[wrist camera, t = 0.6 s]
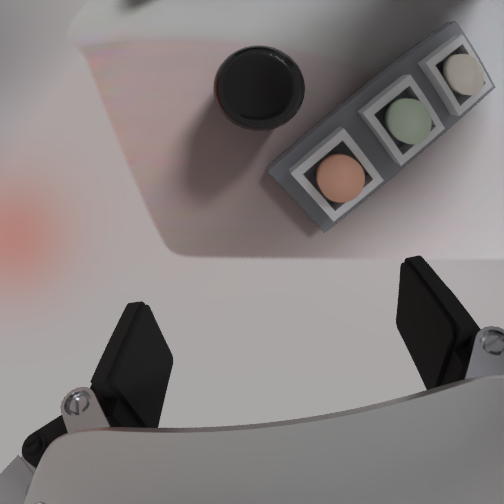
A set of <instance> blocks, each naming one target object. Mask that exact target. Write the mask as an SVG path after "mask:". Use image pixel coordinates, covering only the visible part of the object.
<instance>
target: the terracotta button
mask: <svg viewBox="0 0 504 504" xmlns="http://www.w3.org/2000/svg"><path fill="white" fill-rule="evenodd" d="M316 182H317V184H318V186H319V188H320V189H321V191H322V193H323V194H324V195H325V196H326V197H327V198H328V199H330V200H331V201H334V202H339V203H344V202H348V201H351V200H353V199H354V198H356V197H357V196H358V195H359V194H360V193H361V191H362V189H363V187H364V183H365V175H364V171H363V169H362V167H361V165H360V164H359V163H358V162H357V161H355V160H354V159H353V158H351V157H350V156H348V155H346V154H343V153H333V154H330V155H328V156H326V157H325V158H323V159H322V160H321V161H320V163H319V164H318V166H317V169H316Z"/></svg>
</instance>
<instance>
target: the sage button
mask: <svg viewBox="0 0 504 504" xmlns="http://www.w3.org/2000/svg"><path fill="white" fill-rule="evenodd" d="M384 121H385V126H386V128H387V130H388V132H389V133H390V134H391V135H392V136H393V137H394V138H395V139H397V140H400V141H402V142H405V143H407V144H418V143H421V142H422V141H424V140H425V139H426V138H427V136H428V135H429V133H430V130H431V125H432V121H431V116H430V113H429V111H428V109H427V108H426V106H425V105H424V104H423V103H421V102H420V101H418V100H415V99H408V98H398V99H395V100H393V101H392V102H391V103H390V104H389V105H388V107H387V108H386V111H385V116H384Z"/></svg>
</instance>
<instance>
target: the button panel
mask: <svg viewBox="0 0 504 504" xmlns="http://www.w3.org/2000/svg"><path fill="white" fill-rule="evenodd" d="M454 54H468V55H470V56H472V57H474V58H475V59H476V60H477V62H478V63H479V64H480V66H481V68H482V71H483V75H484V83H483V87H482V89H481V91H480V92H479V93H478V94H476V95H464V94H458V93H456V92H454V91H452V90H451V89H450V88H449V86H448V85H447V83H446V81H445V79H444V76H443V64H444V61H445V60H446V58H447V57H448V56H450V55H454ZM494 88H495V86H494V84H493V82H492V80H491V78H490V76H489V74H488V72H487V71H486V69H485V67H484V65H483V63H482V62H481V60H480V58H479V57H478V55H477V53H476V51H475V50H474V48H473V47H472V45H471V43H470V42H469V40H468V39H467V37H466V35H465V34H464V32H463V31H462V29H461V28H460V26H459V25H458V24H457V22H456V21H453V22H449V23H446V24H444V25H443V26H442V27H440V28H439V29H437V30H436V31H435V32H433V33H432V34H430V35H429V36H428V37H426V38H425V39H424V40H422V41H421V42H420V43H418V44H417V45H415V46H414V47H413V48H411V49H410V50H409V51H407V52H406V53H405V54H403V55H402V56H401V57H400V58H398V59H397V60H396V61H394V62H393V63H392V64H390V65H389V66H388V67H386V68H385V69H384V70H383V71H381V72H380V73H379V74H377V75H376V76H375V77H374V78H372V79H371V80H370V81H369V82H367V83H366V84H365V85H364V86H362V87H361V88H360V89H359V90H357V91H356V92H355V93H354V94H352V95H351V96H350V97H349V98H347V99H346V100H345V101H344V102H343V103H341V104H340V105H339V106H338V107H336V108H335V109H334V110H333V111H332V112H330V113H329V114H328V115H327V116H326V117H324V118H323V119H322V120H321V121H320V122H318V123H317V124H316V125H315V126H314V127H313V128H311V129H310V130H309V131H308V132H307V133H305V134H304V135H303V136H302V137H301V138H300V139H298V140H297V141H296V142H295V143H294V144H293V145H292V146H290V147H289V148H288V149H287V150H286V151H285V152H283V153H282V154H281V155H280V156H279V157H278V158H277V159H275V160H274V161H273V162H272V163H271V164H270V165H269V166H268V167H267V172H268V173H269V174H270V175H271V176H272V177H273V178H274V179H275V180H276V181H277V182H278V183H279V184H280V185H281V186H282V187H283V188H284V189H285V191H286V192H287V193H288V194H289V195H290V196H291V197H292V198H293V199H294V200H295V201H296V202H297V203H298V204H299V205H300V207H301V208H302V209H303V210H304V211H305V212H306V213H307V214H308V215H309V216H310V217H311V219H312V220H313V221H314V222H315V223H316V224H317V225H318V226H319V227H320V228H321V230H322V231H323V232H324V233H325V232H326V231H327V230H329V229H330V228H331V227H332V226H334V225H335V224H336V223H337V222H338V221H340V220H341V219H342V218H343V217H345V216H346V215H347V214H348V213H350V212H351V211H352V210H353V209H354V208H356V207H357V206H358V205H359V204H361V203H362V202H363V201H364V200H365V199H367V198H368V197H369V196H370V195H371V194H373V193H374V192H375V191H376V190H377V189H379V188H380V187H381V186H382V185H383V184H385V183H386V182H387V181H388V180H389V179H391V178H392V177H393V176H394V175H395V174H397V173H398V172H399V171H400V170H401V169H403V168H404V167H405V166H406V165H407V164H408V163H410V162H411V161H412V160H413V159H414V158H416V157H417V156H418V155H419V154H420V153H421V152H423V151H424V150H425V149H426V148H427V147H428V146H430V145H431V144H432V143H433V142H434V141H435V140H436V139H438V138H439V137H440V136H441V135H442V134H443V133H445V132H446V131H447V130H448V129H449V128H450V127H451V126H453V125H454V124H455V123H456V122H457V121H458V120H459V119H460V118H462V117H463V116H464V115H465V114H466V113H467V112H468V111H470V110H471V109H472V108H473V107H474V106H475V105H476V104H477V103H478V102H480V101H481V100H482V99H483V98H484V97H485V96H486V95H487V94H488V93H490V92H491V91H492V90H493V89H494ZM398 98H408V99H415V100H418V101H420V102H421V103H423V104H424V105H425V106H426V108H427V109H428V111H429V113H430V116H431V121H432V125H431V130H430V133H429V135H428V136H427V138H426V139H425V140H424V141H422V142H421V143H418V144H407V143H405V142H402V141H400V140H397V139H395V138H394V137H393V136H392V135H391V134H390V133H389V132H388V130H387V128H386V126H385V121H384V116H385V111H386V108H387V107H388V105H389V104H390V103H391V102H392V101H393V100H395V99H398ZM333 153H343V154H346V155H348V156H350V157H351V158H353V159H354V160H355V161H357V162H358V163H359V164H360V165H361V167H362V169H363V171H364V175H365V183H364V187H363V189H362V191H361V193H360V194H359V195H358V196H357V197H356V198H354V199H353V200H351V201H348V202H344V203H339V202H334V201H331V200H330V199H328V198H327V197H326V196H325V195H324V194H323V193H322V191H321V189H320V188H319V186H318V184H317V182H316V169H317V166H318V164H319V163H320V161H321V160H322V159H323V158H325V157H326V156H328V155H330V154H333Z"/></svg>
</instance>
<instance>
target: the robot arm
mask: <svg viewBox="0 0 504 504" xmlns="http://www.w3.org/2000/svg"><path fill="white" fill-rule="evenodd" d="M396 324H397V328H398V330H399V332H400V334H401V336H402V338H403V340H404V342H405V344H406V346H407V348H408V350H409V353H410V355H411V356H412V359H413V361H414V363H415V365H416V367H417V369H418V371H419V374H420V376H421V378H422V380H423V382H424V385H425V387H426V389H427V390H426V391H423V392H419V393H416V394H412V395H408V396H404V397H401V398H397V399H393V400H390V401H386V402H382V403H378V404H373V405H369V406H365V407H360V408H356V409H351V410H346V411H341V412H336V413H330V414H325V415H319V416H313V417H307V418H300V419H293V420H286V421H278V422H269V423H260V424H249V425H237V426H223V427H203V428H202V427H201V428H158V425H159V420H160V416H161V412H162V407H163V403H164V398H165V394H166V390H167V386H168V381H169V377H170V373H171V369H172V365H173V356H172V353H171V351H170V349H169V347H168V345H167V343H166V341H165V339H164V337H163V335H162V333H161V331H160V328H159V326H158V324H157V322H156V320H155V318H154V315H153V313H152V311H151V309H150V307H149V305H145V303H144V302H134V303H128V304H127V306H126V308H125V310H124V312H123V314H122V316H121V318H120V320H119V322H118V324H117V326H116V328H115V330H114V332H113V335H112V336H111V338H110V340H109V343H108V344H107V347H106V349H105V351H104V353H103V355H102V357H101V359H100V362H99V364H98V366H97V368H96V370H95V373H94V375H93V377H92V380H91V383H92V385H91V387H90V389H89V388H86V387H81V388H76V389H74V390H72V391H71V392H69V393H68V394H67V396H65V397H64V399H63V401H62V404H61V413H62V415H61V416H59V417H58V418H56V419H54V420H53V421H51V422H50V423H48V424H47V425H45V426H43V427H42V428H40V429H39V430H37V431H35V432H34V433H32V434H31V435H30V436H28V437H27V439H26V440H25V441H24V444H23V446H22V457H20V456H19V455H18V456H17V457H16V458H15V459H14V460H13V461H12V462H11V463H10V464H9V465H8V466H7V467H6V469H5V470H4V471H3V472H2V473H1V474H0V504H504V330H503V329H501V328H499V327H493V326H491V327H485V328H483V329H480V328H479V327H478V325H477V324H476V323H475V321H474V320H473V318H472V317H471V316H470V315H469V313H468V312H467V311H466V309H465V308H464V307H463V305H462V304H461V303H460V302H459V300H458V299H457V298H456V296H455V295H454V294H453V293H452V291H451V290H450V289H449V288H448V287H447V286H446V285H445V284H444V282H443V281H442V280H441V279H440V278H439V276H438V275H437V274H436V273H435V272H434V270H433V269H432V268H431V267H430V266H429V264H427V262H426V261H425V260H424V259H423V258H422V257H421V256H414V257H409V258H406V259H405V262H404V263H402V264H401V267H400V283H399V295H398V306H397V316H396Z"/></svg>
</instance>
